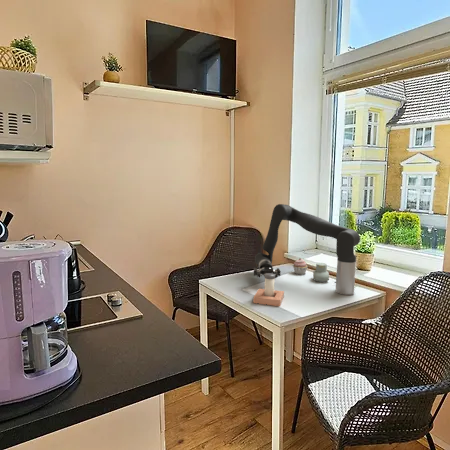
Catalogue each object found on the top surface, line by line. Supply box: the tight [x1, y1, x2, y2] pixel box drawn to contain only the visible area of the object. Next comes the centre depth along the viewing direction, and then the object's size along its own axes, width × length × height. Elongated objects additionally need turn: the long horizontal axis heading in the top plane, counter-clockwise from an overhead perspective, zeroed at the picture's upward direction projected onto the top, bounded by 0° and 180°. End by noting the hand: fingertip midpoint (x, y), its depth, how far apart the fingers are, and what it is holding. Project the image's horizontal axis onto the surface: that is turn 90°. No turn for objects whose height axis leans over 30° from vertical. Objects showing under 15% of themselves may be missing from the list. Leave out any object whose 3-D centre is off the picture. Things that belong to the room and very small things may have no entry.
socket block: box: [253, 288, 285, 307], centre depth 182 cm, size 13×13×3 cm
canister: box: [263, 273, 276, 297], centre depth 182 cm, size 5×5×13 cm
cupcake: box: [292, 257, 309, 276], centre depth 226 cm, size 9×9×10 cm
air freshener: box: [312, 262, 330, 283], centre depth 213 cm, size 11×8×10 cm
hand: (267, 276), depth 191 cm, fingers open, 8 cm apart
